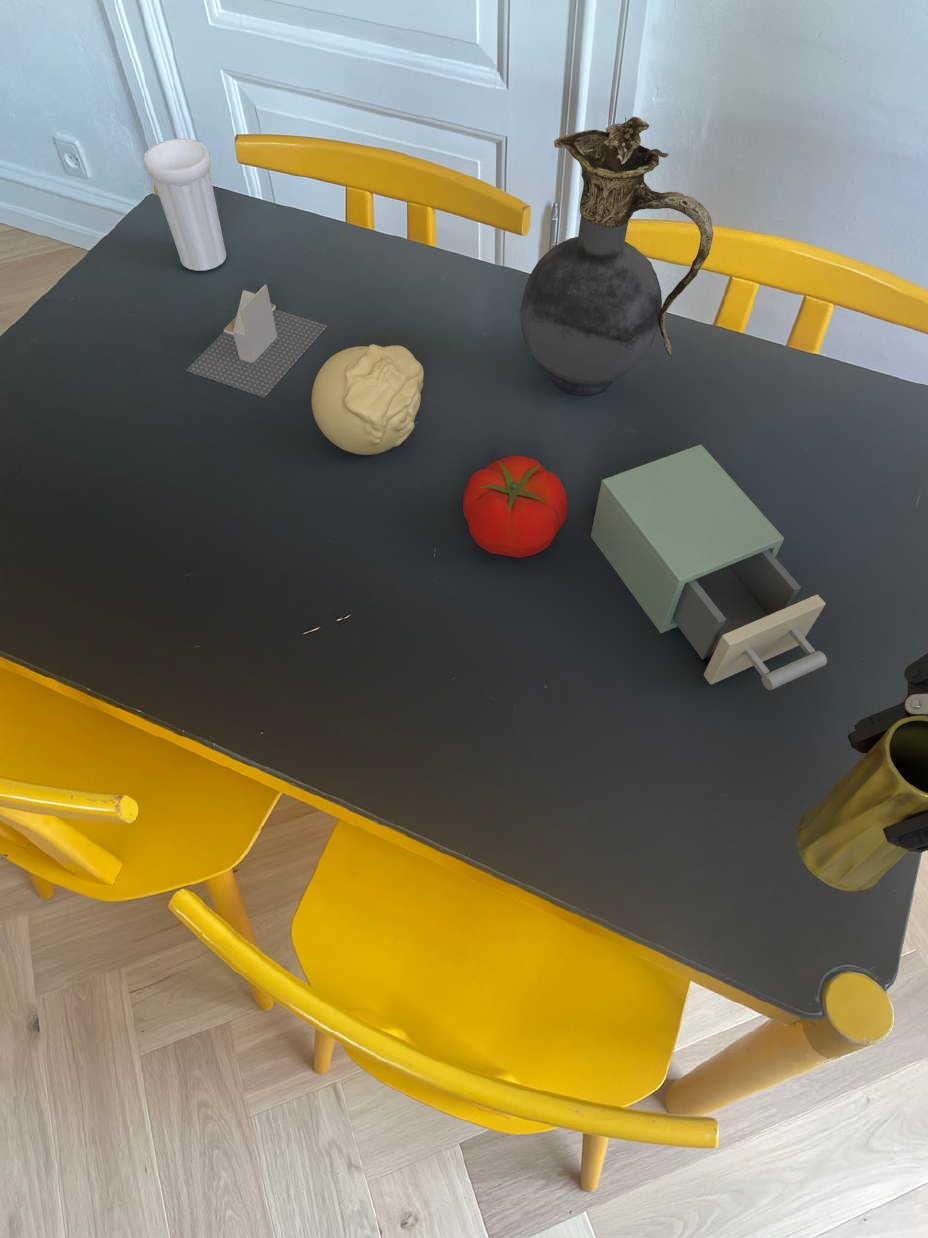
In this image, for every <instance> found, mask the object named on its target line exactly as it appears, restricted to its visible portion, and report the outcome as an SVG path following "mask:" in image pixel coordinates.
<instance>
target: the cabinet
mask: <svg viewBox="0 0 928 1238" xmlns="http://www.w3.org/2000/svg"><path fill="white" fill-rule="evenodd" d="M590 538H591V539H592V541H593V542H594V543H595V545H596V547H598V549H599V550H600V552H601V553H602V555H603V556H604V558H606V560H607V562H608V563H609V564H610V566H611V567H612V568H613V570H614V571H615V573H616V574H617V575H618V577H619V578H620V580H621V581H622V582H623V584H624V585H625V587H626V588H627V589H628V590H629V592H630V593H631V595H632V596H633V597H634V599H635V600H636V601H637V603H638V604H639V606H640V607H641V609H642V611H643V612H645V614H646V615H647V617H648V618H649V620H650V621H651V622H652V624H653V625H654V626H655V628H656V629H657V630H658V632H659V633H660V634H663V633H665V632H668V631H670V630H674V629H675V628H679V627H678V626H677V625H676V623H675V622H674V621H673V619H672V617H673V614H674V611H675V609H676V606H677V603H678V601H679V598H680V595H681V593H682V590H683V587H684V585H685V583H687V582H689V581H692V580H694V579H697V578H699V577H701V576H704V575H706V574H709V573H711V572H714V571H716V570H719V569H721V568H724V567H726V566H729V565H731V564H733V563H736V562H738V561H741V560H743V559H746V558H748V557H751V556H753V555H756V554H758V553H760V552H763V551H765V550H769V551H770V552H771V553H772V554H773V555H774V557H775V558H777V554H778V553H779V551H780V548H781V547H782V546H783V545H782V544H783V542H784V541H785V537H784V536H783V535H782V534H781V533H780V532H779V530H778V529H777V528H776V527H775V526H774V525H773V524H772V523H771V522H770V520H769V519H768V518H767V517H766V516H765V515H764V513H762V511H761V510H760V509H759V508H758V507H757V506H756V505H755V504H754V502H753V501H752V500H751V499H750V498H749V497H748V495H747V494H746V493H745V492H744V491H743V490H742V489H741V487H739V486H738V484H737V483H736V482H735V481H734V480H733V479H732V477H731V476H730V475H729V474H728V473H727V472H726V471H725V470H724V468H723V467H722V466H721V465H720V464H719V463H718V461H716V459H715V458H714V457H713V456H712V455H711V454H710V452H708V450H707V449H706V447H704V445H702V444H697V445H695V446H692V447H689V448H686V449H683V450H681V451H678V452H675V453H673V454H671V455H667V456H665V457H661V458H659V459H656V460H654V461H650V462H648V463H644V464H642V465H640V466H637V467H633V468H631V469H629V470H625V471H622V472H620V473H618V474H617V473H616V474H614V475H612V476H609V477H606V478H603V479H602V480H601V483H600V488H599V493H598V498H597V502H596V508H595V512H594V517H593V523H592V527H591V532H590Z"/></svg>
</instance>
